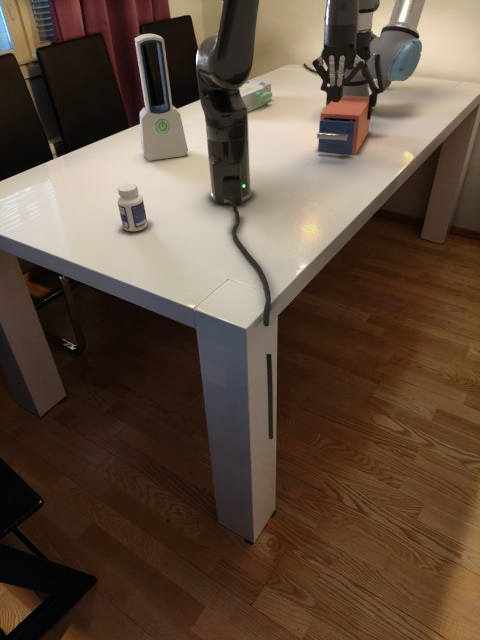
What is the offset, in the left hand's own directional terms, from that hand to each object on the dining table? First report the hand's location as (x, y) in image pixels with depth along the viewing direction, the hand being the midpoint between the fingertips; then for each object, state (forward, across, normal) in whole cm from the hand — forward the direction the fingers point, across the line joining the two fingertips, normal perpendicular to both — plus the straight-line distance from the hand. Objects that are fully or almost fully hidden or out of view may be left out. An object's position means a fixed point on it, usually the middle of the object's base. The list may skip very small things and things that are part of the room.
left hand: (335, 101), depth 122 cm
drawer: (+14, 0, -9) cm, 16 cm away
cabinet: (+15, 0, -15) cm, 21 cm away
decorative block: (+15, +45, -44) cm, 65 cm away
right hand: (+10, 0, -21) cm, 23 cm away
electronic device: (+15, +47, +8) cm, 50 cm away
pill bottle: (+15, +31, +50) cm, 61 cm away
